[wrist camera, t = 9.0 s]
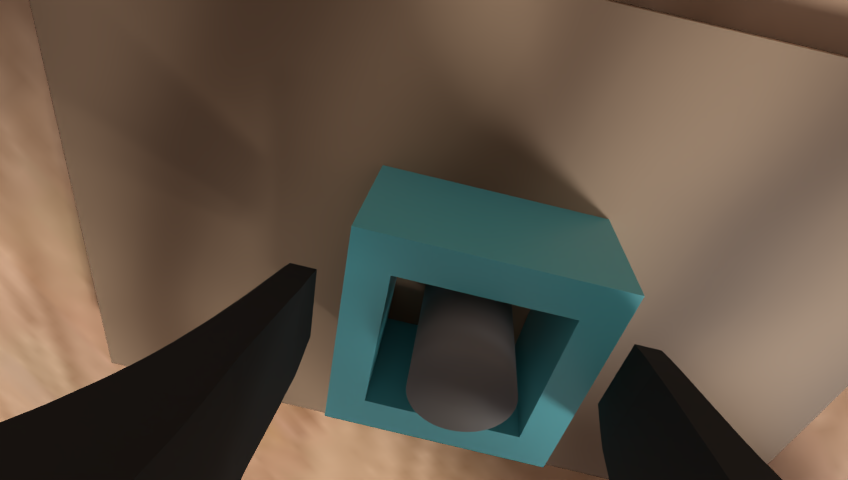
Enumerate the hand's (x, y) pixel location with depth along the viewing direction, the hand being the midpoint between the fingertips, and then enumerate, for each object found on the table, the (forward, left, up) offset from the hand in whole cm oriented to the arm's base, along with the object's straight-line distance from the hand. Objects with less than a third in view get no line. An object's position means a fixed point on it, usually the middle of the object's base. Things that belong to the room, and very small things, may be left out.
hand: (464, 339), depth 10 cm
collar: (0, 0, -2) cm, 2 cm away
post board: (0, 0, -4) cm, 4 cm away
